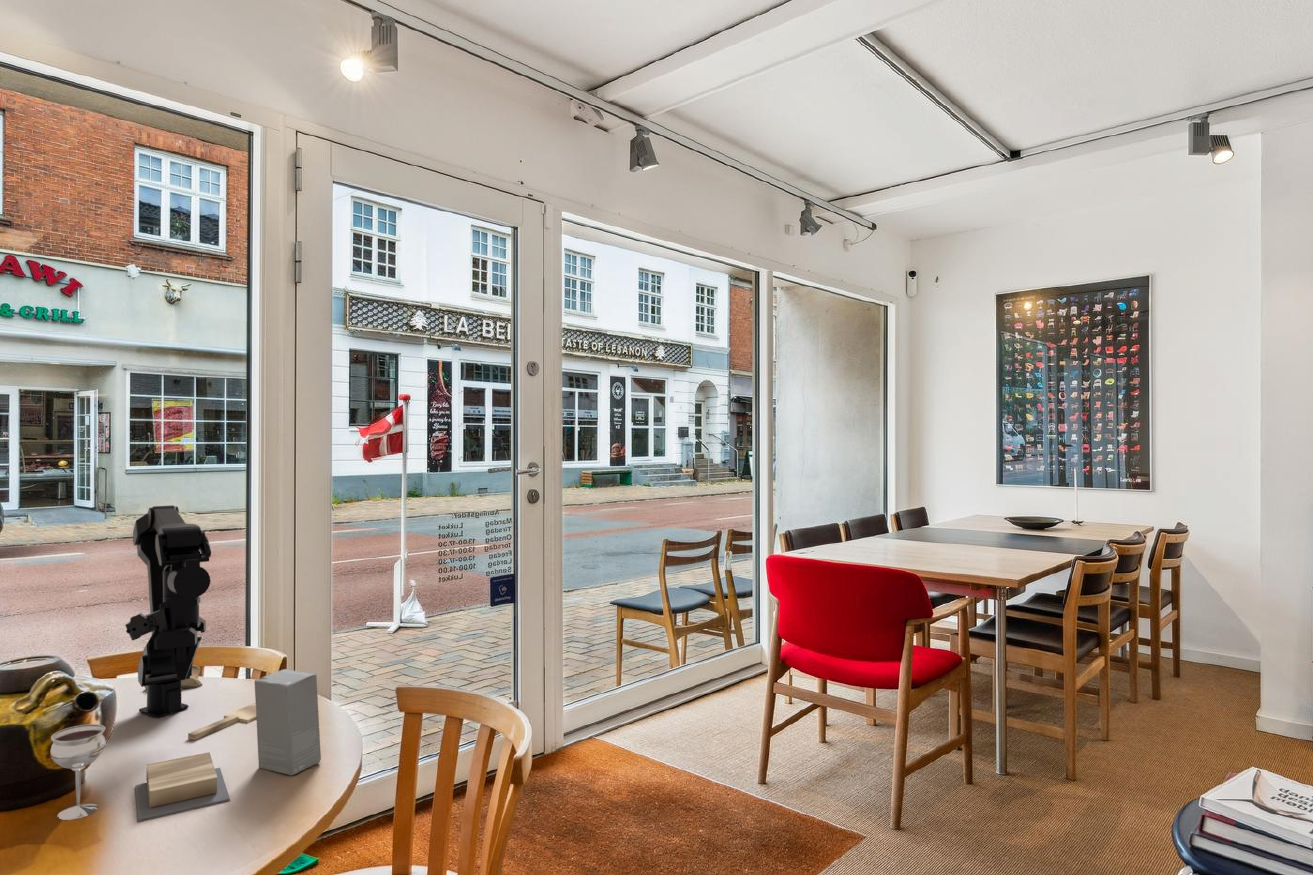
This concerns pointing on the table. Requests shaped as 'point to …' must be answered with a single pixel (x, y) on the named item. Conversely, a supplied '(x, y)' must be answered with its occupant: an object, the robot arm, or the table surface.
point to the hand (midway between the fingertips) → (181, 679)
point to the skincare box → (287, 721)
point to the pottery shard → (191, 679)
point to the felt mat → (179, 806)
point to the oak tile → (180, 779)
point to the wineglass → (78, 759)
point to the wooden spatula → (226, 721)
